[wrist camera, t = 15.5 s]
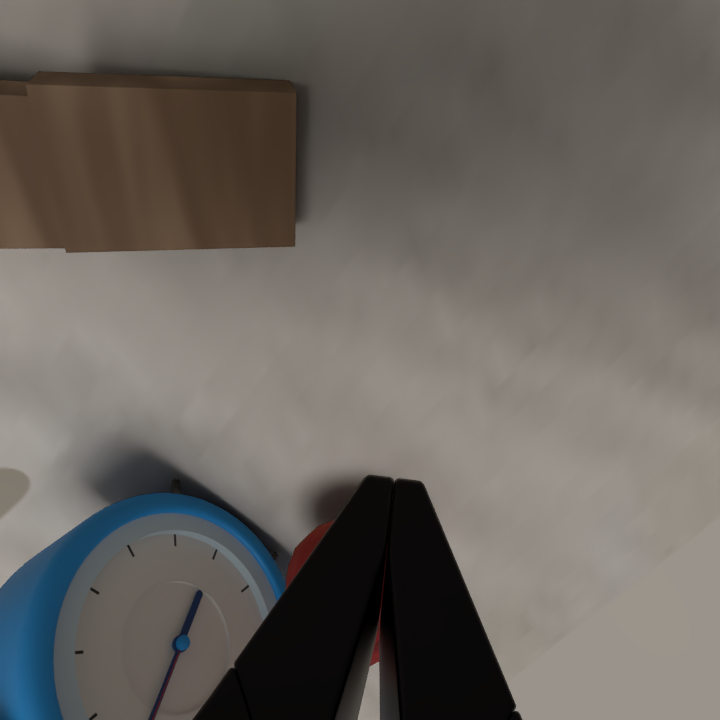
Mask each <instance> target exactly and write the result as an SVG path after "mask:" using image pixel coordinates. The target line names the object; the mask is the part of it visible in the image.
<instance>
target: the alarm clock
mask: <svg viewBox="0 0 720 720" xmlns="http://www.w3.org/2000/svg"><path fill="white" fill-rule="evenodd" d="M277 556H278V554H277V552H274V553H273V554H271V555H270V553H269V552H268V550H267V549H266V548H265V546H264V545H263V544H262V542H261V541H260V540H259V539H258V538H257V537H256V535H255V534H254V533H253V532H252V531H251V530H250V529H249V528H248V527H247V526H246V525H244V524H243V523H242V522H241V521H240V520H238V519H237V518H236V517H234V516H233V515H231V514H230V513H228V512H227V511H225V510H223V509H222V508H220V507H218V506H216V505H214V504H212V503H209V502H207V501H205V500H202V499H199V498H196V497H192V496H188V495H183V494H182V492H181V488H180V483H179V480H177V479H174V480H173V481H172V485H171V491H170V493H152V494H144V495H139V496H135V497H131V498H128V499H125V500H122V501H119V502H116V503H114V504H112V505H110V506H108V507H105V508H104V509H102V510H100V511H99V512H97V513H95V514H94V515H92V516H91V517H89V518H88V519H86V520H85V521H84V522H82V523H81V524H79V525H78V526H77V527H75V528H74V529H72V530H71V531H69V532H68V533H67V534H65V535H64V536H62V537H61V538H60V539H58V540H57V541H55V542H54V543H53V544H51V545H50V546H48V547H47V548H45V549H44V550H43V551H41V552H40V553H38V554H37V555H36V556H34V557H33V558H32V559H30V560H29V561H28V562H26V563H25V564H24V565H23V566H22V567H21V568H19V569H18V570H17V571H16V572H15V573H14V574H13V575H12V576H11V577H10V578H9V579H8V580H7V581H6V583H5V584H4V585H3V586H2V587H1V588H0V720H192V719H193V718H194V716H195V715H196V714H197V712H198V711H199V710H200V708H201V707H202V706H203V704H204V703H205V702H206V700H207V699H208V698H209V696H210V695H211V694H212V692H213V691H214V689H215V688H216V687H217V685H218V684H219V682H220V681H221V680H222V678H223V677H224V675H225V674H226V672H227V671H228V670H229V669H230V668H234V662H235V660H236V659H237V657H238V656H239V655H240V653H241V652H242V650H243V649H244V648H245V646H246V645H247V643H248V642H249V640H250V639H251V638H252V636H253V635H254V633H255V632H256V631H257V629H258V628H259V626H260V625H261V623H262V622H263V621H264V619H265V618H266V616H267V615H268V614H269V612H270V611H271V609H272V608H273V606H274V605H275V604H276V602H277V601H278V599H279V598H280V597H281V595H282V594H283V592H284V591H285V588H286V582H285V580H284V578H283V576H282V574H281V572H280V570H279V568H278V566H277V564H276V562H275V559H276V558H277Z"/></svg>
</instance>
